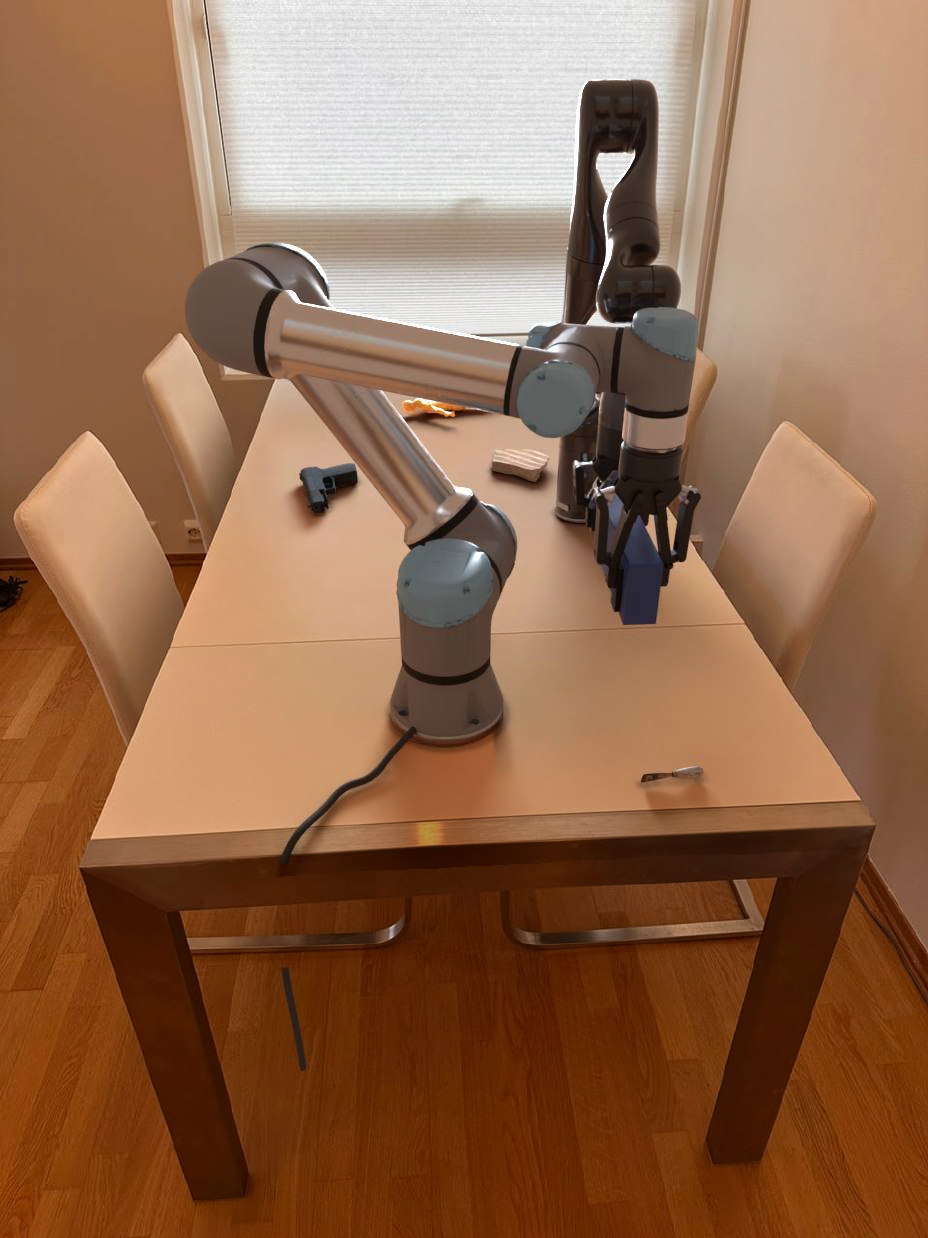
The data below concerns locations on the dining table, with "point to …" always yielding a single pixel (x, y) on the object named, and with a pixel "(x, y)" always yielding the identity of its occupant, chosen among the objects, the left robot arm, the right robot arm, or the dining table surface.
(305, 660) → the dining table surface
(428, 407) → the human figure
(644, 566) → the bar
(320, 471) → the handgun
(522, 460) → the stone
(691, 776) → the putty knife
